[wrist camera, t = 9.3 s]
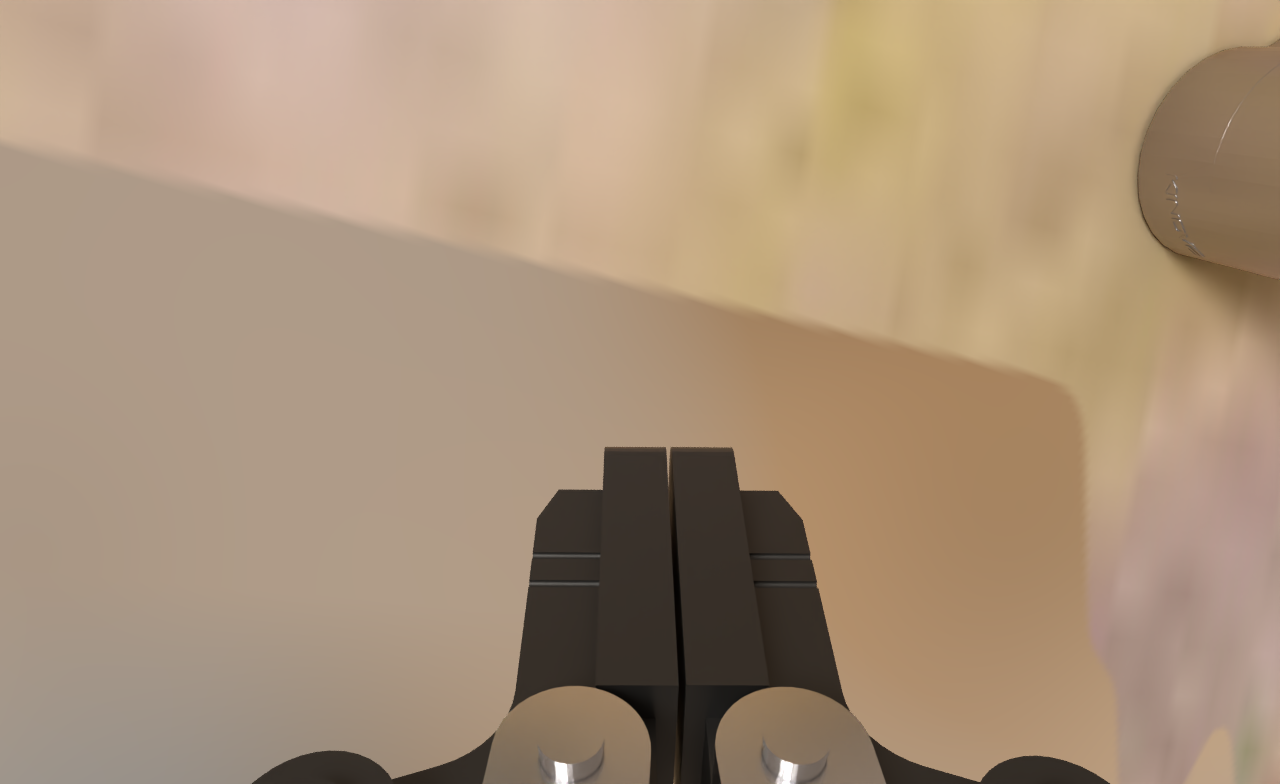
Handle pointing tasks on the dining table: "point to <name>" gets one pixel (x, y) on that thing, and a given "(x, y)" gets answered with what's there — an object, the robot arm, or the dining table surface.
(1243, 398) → the dining table surface
